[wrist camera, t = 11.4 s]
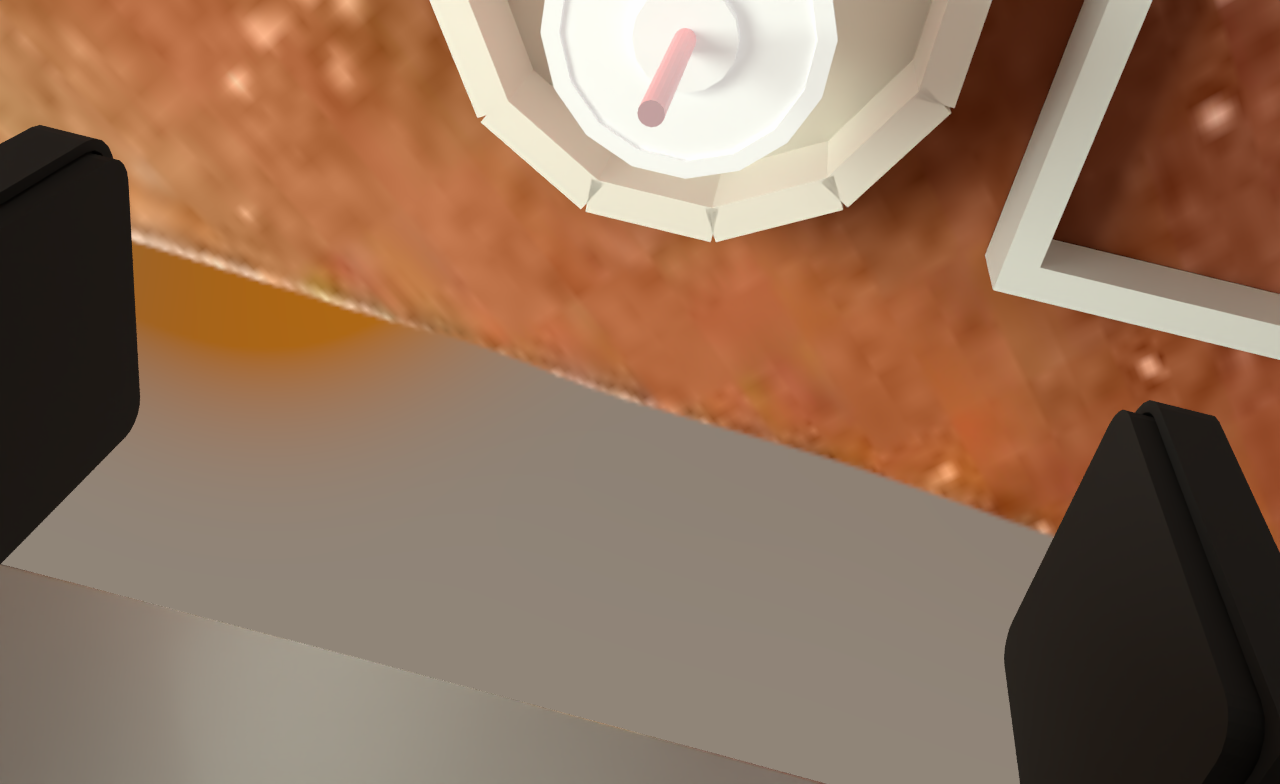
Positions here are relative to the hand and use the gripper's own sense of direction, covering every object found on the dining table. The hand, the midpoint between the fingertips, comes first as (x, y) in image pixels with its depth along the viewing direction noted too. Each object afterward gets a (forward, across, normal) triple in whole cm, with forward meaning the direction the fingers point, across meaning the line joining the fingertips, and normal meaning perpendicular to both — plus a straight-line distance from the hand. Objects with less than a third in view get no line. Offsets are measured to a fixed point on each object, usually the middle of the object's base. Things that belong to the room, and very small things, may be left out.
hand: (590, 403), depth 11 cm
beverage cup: (+24, +1, +1) cm, 24 cm away
